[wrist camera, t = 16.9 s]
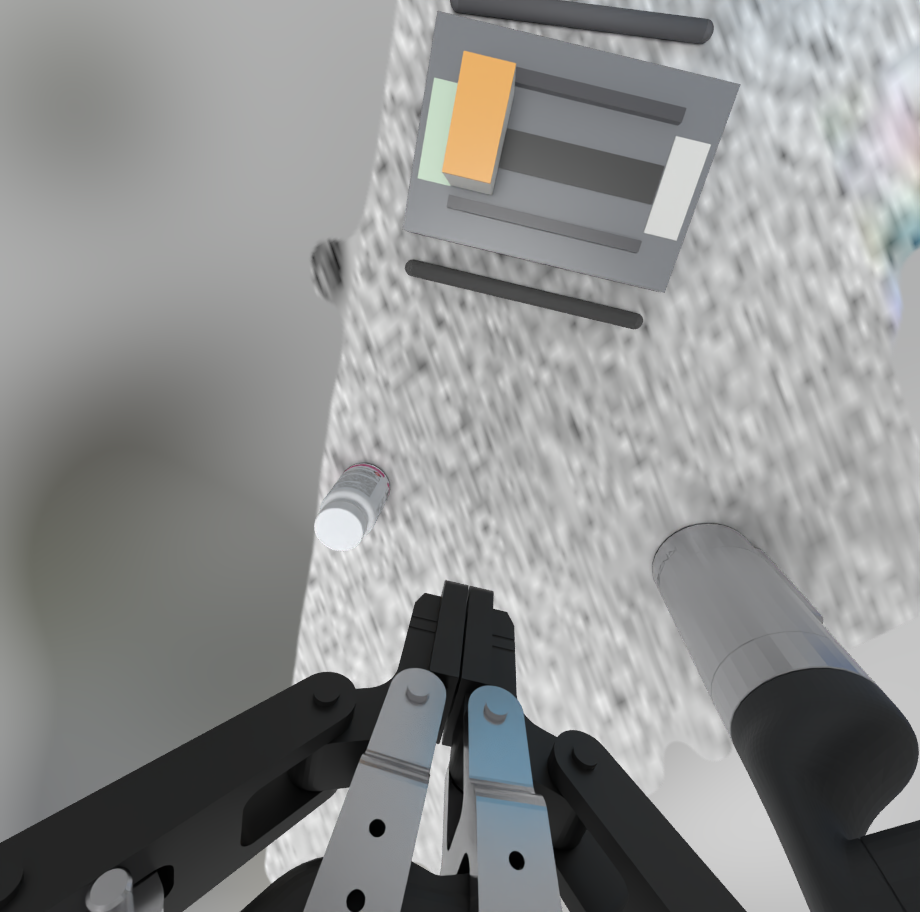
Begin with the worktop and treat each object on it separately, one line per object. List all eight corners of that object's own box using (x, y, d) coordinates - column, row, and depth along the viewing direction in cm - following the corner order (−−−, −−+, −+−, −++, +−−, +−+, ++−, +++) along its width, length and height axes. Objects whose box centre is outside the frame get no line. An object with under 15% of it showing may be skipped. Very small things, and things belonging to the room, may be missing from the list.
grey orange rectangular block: (514, 94, 32) (516, 63, 27) (491, 195, 34) (490, 183, 29) (469, 84, 32) (463, 50, 27) (450, 185, 34) (441, 171, 29)
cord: (711, 25, 32) (719, 16, 30) (705, 47, 32) (713, 39, 31) (452, -8, 32) (450, -18, 31) (450, 15, 32) (448, 6, 31)
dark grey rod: (642, 314, 38) (646, 316, 37) (637, 329, 39) (641, 331, 38) (408, 258, 38) (405, 258, 37) (405, 274, 39) (402, 274, 38)
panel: (726, 94, 33) (746, 79, 30) (656, 291, 38) (667, 293, 35) (441, 25, 33) (435, 4, 30) (407, 231, 38) (400, 228, 35)
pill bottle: (332, 473, 46) (297, 516, 38) (374, 454, 45) (347, 493, 37) (357, 514, 47) (329, 563, 39) (399, 496, 46) (378, 543, 38)
